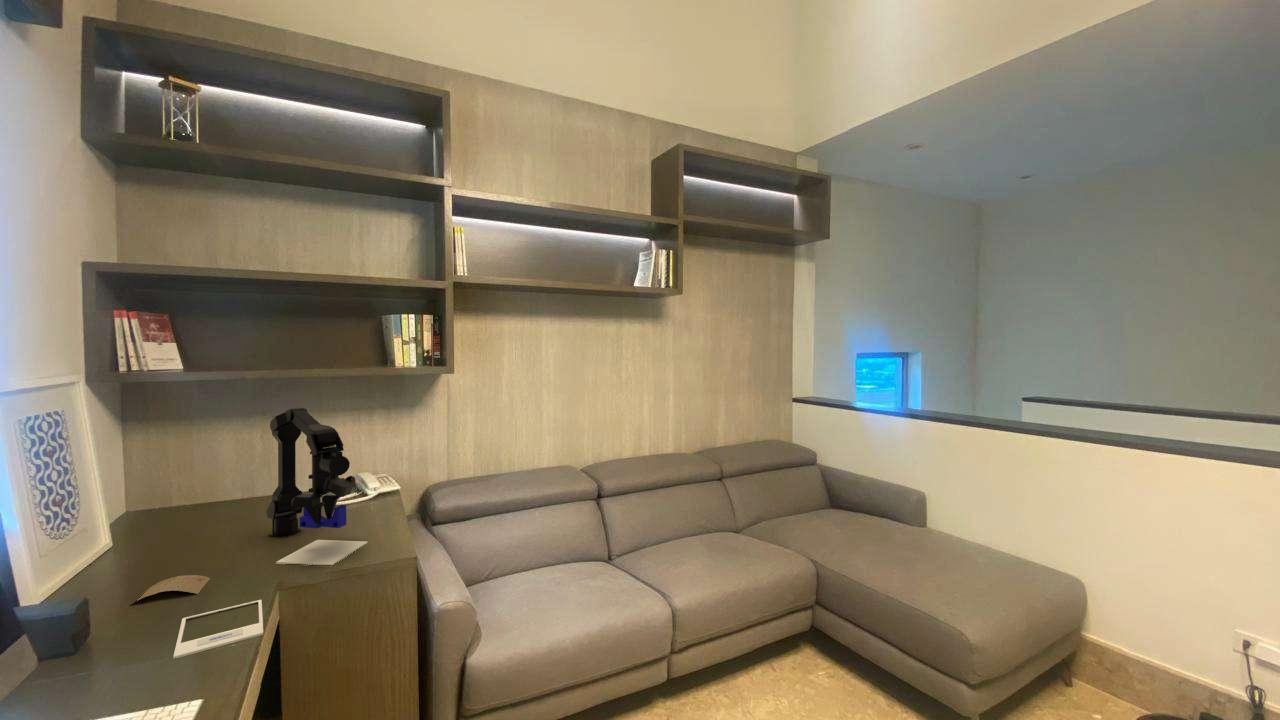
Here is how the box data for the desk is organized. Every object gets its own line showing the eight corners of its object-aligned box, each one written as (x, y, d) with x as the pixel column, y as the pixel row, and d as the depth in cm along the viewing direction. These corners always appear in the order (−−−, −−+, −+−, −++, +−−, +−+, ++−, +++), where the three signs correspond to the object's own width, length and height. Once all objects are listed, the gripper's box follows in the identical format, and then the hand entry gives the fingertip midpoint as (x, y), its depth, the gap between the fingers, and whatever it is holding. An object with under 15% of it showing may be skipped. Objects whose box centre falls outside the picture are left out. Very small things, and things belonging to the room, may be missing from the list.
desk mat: (275, 564, 148) (275, 562, 148) (317, 541, 165) (317, 539, 165) (331, 566, 147) (331, 564, 146) (367, 543, 163) (367, 541, 163)
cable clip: (299, 527, 154) (299, 507, 154) (311, 521, 159) (311, 502, 158) (335, 529, 152) (335, 509, 152) (346, 524, 157) (346, 505, 156)
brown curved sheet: (126, 609, 124) (126, 598, 124) (142, 591, 133) (142, 580, 132) (203, 596, 130) (203, 585, 130) (214, 579, 139) (213, 569, 139)
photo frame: (173, 655, 103) (182, 617, 118) (173, 661, 103) (182, 622, 118) (263, 631, 112) (261, 598, 127) (263, 636, 112) (261, 603, 127)
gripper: (327, 479, 145) (327, 533, 145) (367, 463, 164) (367, 512, 164) (290, 478, 146) (290, 532, 146) (334, 462, 164) (334, 510, 165)
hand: (323, 521), depth 155 cm, fingers closed on cable clip, 5 cm apart
